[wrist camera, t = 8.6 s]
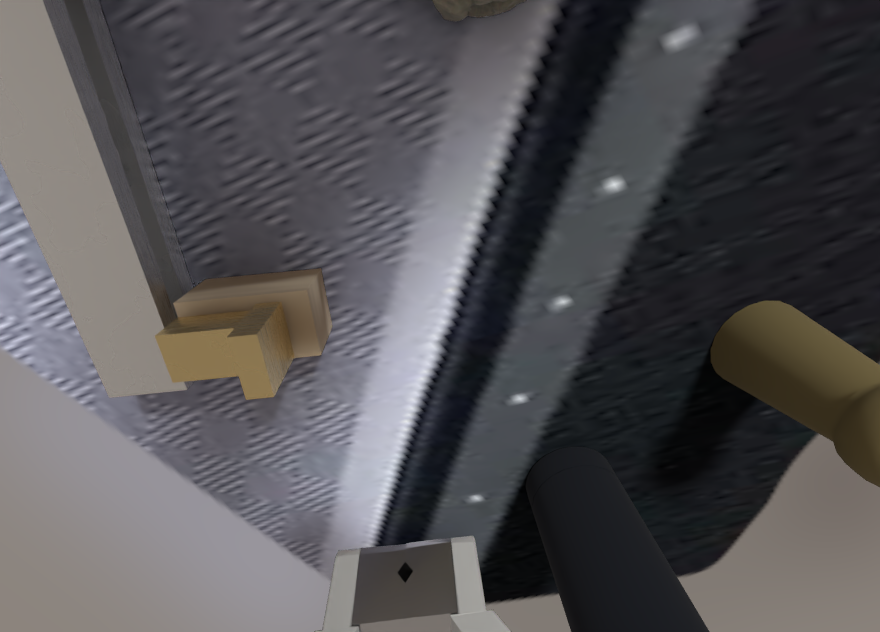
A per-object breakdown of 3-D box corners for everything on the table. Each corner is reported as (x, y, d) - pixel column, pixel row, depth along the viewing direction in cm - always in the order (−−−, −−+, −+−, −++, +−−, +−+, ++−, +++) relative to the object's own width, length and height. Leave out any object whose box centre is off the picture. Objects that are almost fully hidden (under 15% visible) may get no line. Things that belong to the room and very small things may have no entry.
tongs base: (-94, -128, 17) (-272, -220, 12) (94, -141, 17) (-16, -235, 13) (121, 365, 26) (62, 414, 21) (242, 353, 26) (208, 399, 22)
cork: (718, 396, 30) (878, 534, 19) (702, 324, 27) (874, 439, 17) (807, 361, 29) (1019, 485, 19) (797, 284, 27) (1035, 380, 16)
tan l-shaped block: (175, 311, 20) (130, 346, 17) (281, 301, 21) (256, 334, 17) (194, 366, 22) (156, 409, 18) (294, 356, 22) (274, 397, 18)
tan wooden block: (205, 279, 24) (172, 303, 21) (321, 268, 24) (306, 290, 21) (223, 336, 25) (196, 367, 22) (332, 326, 26) (321, 355, 22)
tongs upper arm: (-110, -157, 15) (-202, -207, 13) (29, -166, 15) (-38, -217, 13) (123, 379, 24) (93, 405, 22) (210, 370, 24) (189, 395, 22)
